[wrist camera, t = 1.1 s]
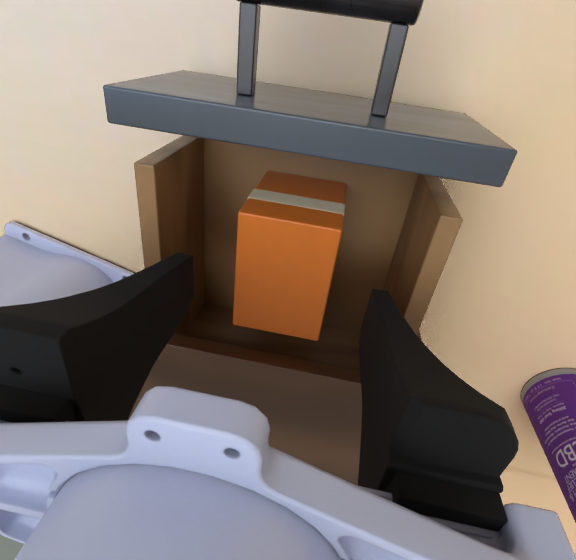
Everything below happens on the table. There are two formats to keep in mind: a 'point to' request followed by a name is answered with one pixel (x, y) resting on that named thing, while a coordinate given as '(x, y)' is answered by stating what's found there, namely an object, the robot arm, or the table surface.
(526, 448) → the table surface
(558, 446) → the container
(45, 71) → the table surface
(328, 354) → the drawer
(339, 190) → the snack box
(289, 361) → the cabinet
